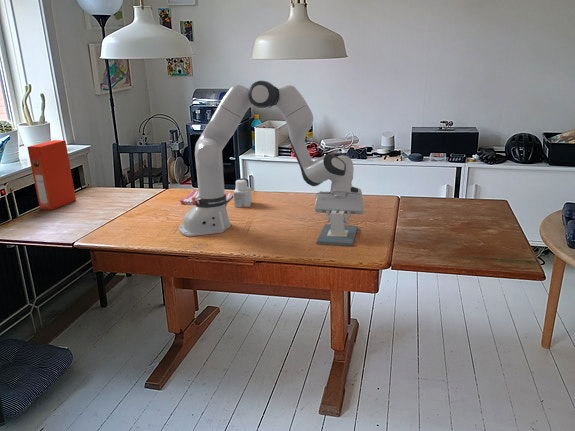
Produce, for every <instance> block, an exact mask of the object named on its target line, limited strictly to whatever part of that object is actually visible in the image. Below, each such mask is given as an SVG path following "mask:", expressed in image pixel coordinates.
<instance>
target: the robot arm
mask: <svg viewBox="0 0 575 431" xmlns="http://www.w3.org/2000/svg"><path fill="white" fill-rule="evenodd" d="M252 107H255V108H257V109H260V110H266V109H271V108H272V107H275V108H277V110H279V112H280V114H281V115H282V117H283V119H284V120H285V123H286V127H287V129H288V133H287V134H288V136H287V138H288V141H289V143H290V146H291V148H292V151H293V153H294V156H295V158H296V160H297V162H298V165H299V168H300V172H301V176H302V179H303V181H304V183H306V184H307V185H309V186H310V187H318V186H319V185H321V184H323V183H324V182H326V181H328V180H329V181H330V182H331V183H330V184H331V185H330V191H318V192H317V193H315V202H314V205H313V206H314V208H313V209H314V211H315V212H316V213H320V214H326V216H327V223H331V212H332V210H339V211H345V215H347V216H345V218H344V223H345V224H348V221H349V219H350V218H351V217H352V215H363V214H364V212H365V206H364V197H363V192H362V189H361V188H358V187H356V186H353V183H352V181H353V179H354V168H355V167H354V162H353V160H352V158H351V157H349V156H347V155H345V154H344V155H338V156H337V155H335V154H333V153H327V154H325V155H322V156H321V157H319V158H318V159H316V160H313V159H312V156H311V155H310V151H309V150H308V148H307V145H306V138H307V135H308V133H309V131H310V129H311V128H312V126H313V123H314V114H313V111H312V110H311V107H309V105H308V103H307V102H306V100H305V98H304V96H303V95H302V94H301V92H300V91H299V90H298V89H297V88H296V87H295V86H294V85H285V86H282V87H281V88H278V87H277V86H275V85H274V84H273V83H271V82H269V81H267V80H257V81H255V82H253V83H252V84H250V86H249V88H247V87H246V86H243V85H241V84H235V85H232V86H231V87H230V88H229V90H228V91H227V92H226V93H225V94H224V96H223V97H222V99H221V100H220V102H219V103H218V106H217V107H216V109H215V111H214V113H213V114H212V116H211V119H210V120H209V122H208V123H207V124H206V126H205V128H204V130H203V131H202V132H201V134H200V136H199V138H198V139H197V141H196V143H195V146H194V158H195V159H194V160H195V169H196V177H197V188H198V190H197V191H199V196H198V197H197V198H196V197H192V201H193V202H195V205H194V206H193V207H192V208H191V209H190V210H189V211H187V212H186V213H185V214H184V217H183V224H181V225H179V226H178V232H179V233H180V234H181V235H183V236H186V237H197V236H203V235H204V236H205V235H212V234H219V233H224V232H225V231H226V230H227V229H229V228H230V227H231V221H230V219H229V214H228V210H227V205H228V204H227V202H228V201H227V200H226V194H225V193H226V192H225V180H224V179H225V178H224V163H223V150H224V148H225V147H226V145H227V144H228V143H229V140H230V139H231V138H232V136H234V135H235V132H236V131H237V129H238V127H239V126H240V124H241V122H242V120H243V118H244V117H245V114H246V113H247V111H248V110H249V108H252Z"/></svg>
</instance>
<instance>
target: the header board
mask: <svg viewBox="0 0 575 431" xmlns="http://www.w3.org/2000/svg"><path fill="white" fill-rule="evenodd" d="M357 231H358V225H350V224H348V225H347V224H345V230H344V234H343V235H334V234H331V223H329V224H328V223H325V224H324V225H323V227H322V230H321V231H320V234H319V236H318V238H317V239H316V245H324V246H325V245H329V246H343V247H344V246H346V247H348V246H349V247H353V244H354V241H355V238H356V235H357Z"/></svg>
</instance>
